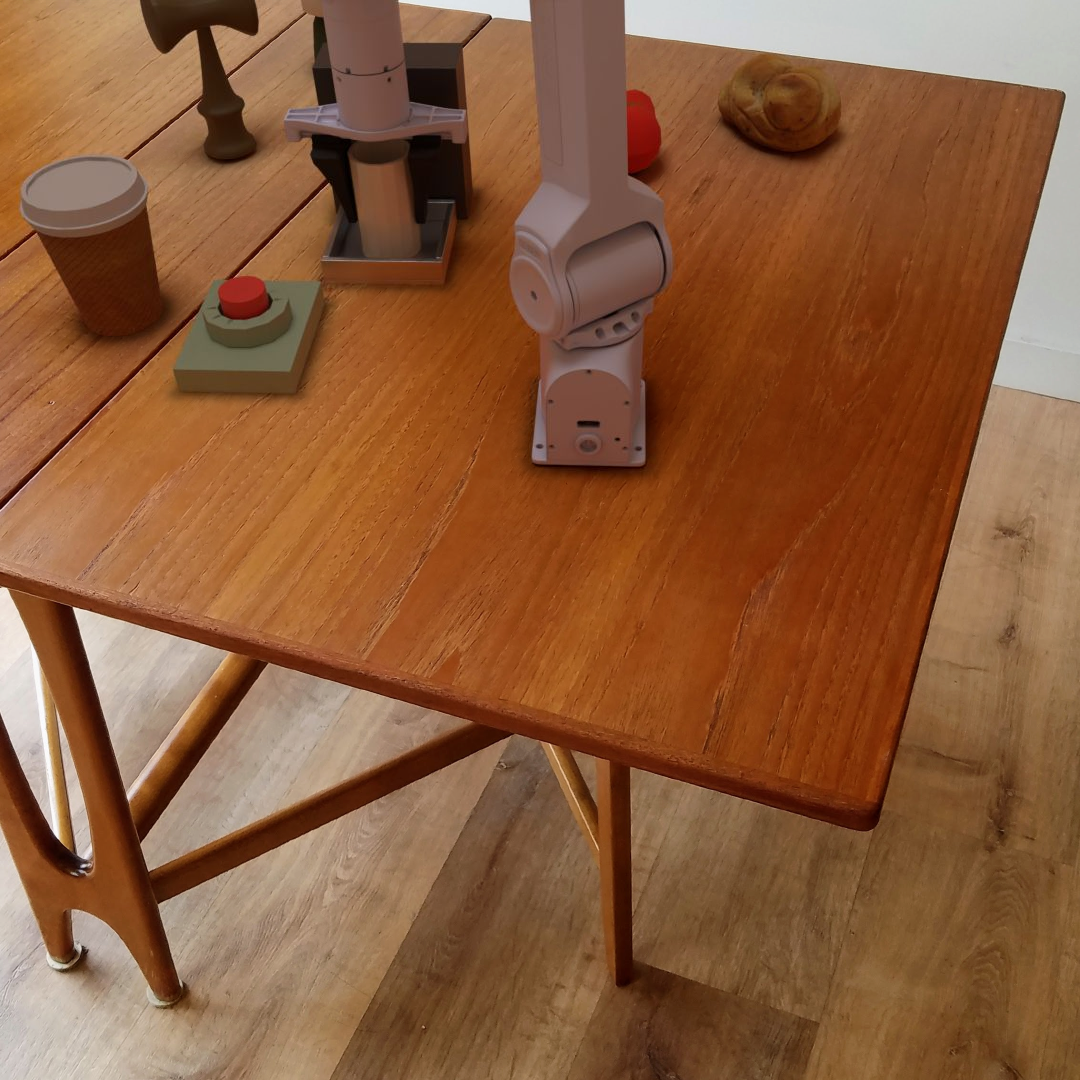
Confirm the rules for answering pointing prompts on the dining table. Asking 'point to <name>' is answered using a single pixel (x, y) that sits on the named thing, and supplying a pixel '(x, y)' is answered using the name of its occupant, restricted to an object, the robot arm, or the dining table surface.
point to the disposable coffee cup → (98, 238)
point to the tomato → (641, 131)
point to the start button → (243, 298)
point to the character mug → (316, 23)
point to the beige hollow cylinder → (384, 198)
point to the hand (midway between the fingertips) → (388, 217)
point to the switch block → (252, 342)
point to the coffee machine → (430, 83)
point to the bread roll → (781, 103)
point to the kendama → (208, 62)
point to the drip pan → (424, 268)
